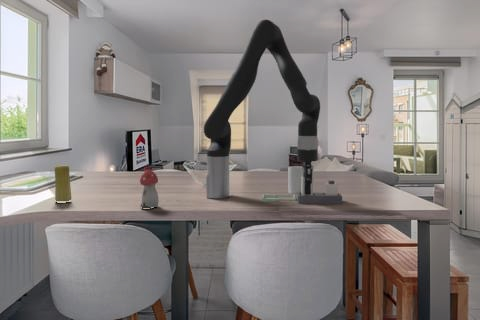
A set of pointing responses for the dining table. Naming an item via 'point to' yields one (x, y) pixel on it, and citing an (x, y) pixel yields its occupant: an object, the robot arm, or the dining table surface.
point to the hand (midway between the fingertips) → (306, 193)
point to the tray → (274, 198)
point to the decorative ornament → (149, 189)
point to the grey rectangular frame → (319, 199)
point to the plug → (304, 187)
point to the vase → (62, 183)
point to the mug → (294, 179)
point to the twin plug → (331, 188)
